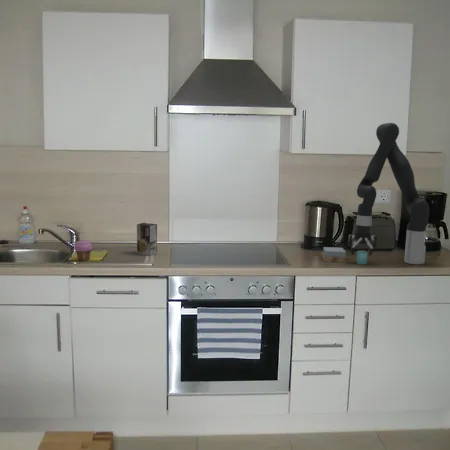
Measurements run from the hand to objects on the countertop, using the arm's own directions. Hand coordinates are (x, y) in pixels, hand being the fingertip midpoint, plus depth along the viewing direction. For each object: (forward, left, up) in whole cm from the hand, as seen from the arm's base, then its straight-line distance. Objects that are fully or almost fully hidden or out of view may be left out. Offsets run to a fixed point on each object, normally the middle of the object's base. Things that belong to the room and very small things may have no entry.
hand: (361, 255), depth 279 cm
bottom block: (+13, -7, -5) cm, 15 cm away
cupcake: (+142, +3, -4) cm, 142 cm away
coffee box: (+112, -13, -4) cm, 112 cm away
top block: (+12, -7, -2) cm, 14 cm away
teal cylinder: (0, 0, -4) cm, 4 cm away
